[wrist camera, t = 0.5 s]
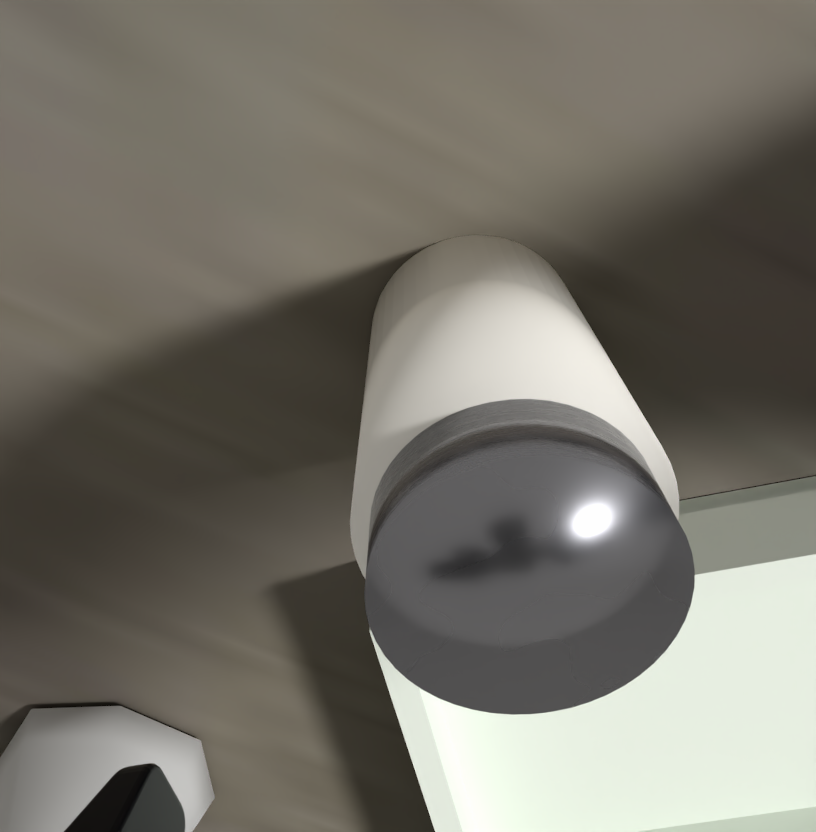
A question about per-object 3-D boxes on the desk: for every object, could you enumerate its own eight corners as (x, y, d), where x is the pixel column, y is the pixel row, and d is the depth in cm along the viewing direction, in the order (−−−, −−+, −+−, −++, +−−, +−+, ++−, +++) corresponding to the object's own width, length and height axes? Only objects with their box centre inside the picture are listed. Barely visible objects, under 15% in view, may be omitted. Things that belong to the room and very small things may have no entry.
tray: (959, 449, 20) (1043, 514, 18) (916, 789, 26) (973, 876, 24) (373, 556, 22) (369, 631, 19) (464, 853, 28) (470, 940, 25)
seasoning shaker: (561, 213, 17) (710, 398, 9) (586, 404, 20) (724, 699, 11) (349, 260, 18) (296, 479, 9) (397, 442, 20) (390, 751, 12)
